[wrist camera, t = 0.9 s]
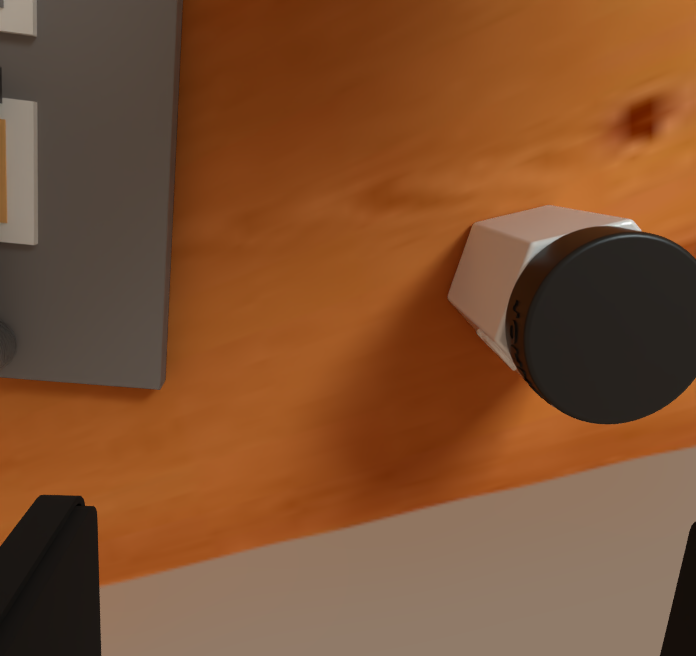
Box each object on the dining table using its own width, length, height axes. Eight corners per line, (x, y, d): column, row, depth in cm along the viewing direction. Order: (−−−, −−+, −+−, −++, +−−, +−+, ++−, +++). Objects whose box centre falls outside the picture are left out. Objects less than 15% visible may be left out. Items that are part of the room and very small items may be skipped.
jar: (418, 272, 37) (475, 324, 25) (526, 173, 36) (638, 179, 24) (513, 377, 39) (607, 470, 27) (618, 286, 38) (761, 342, 26)
